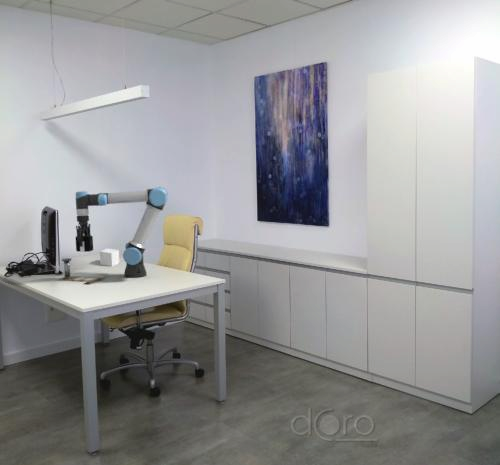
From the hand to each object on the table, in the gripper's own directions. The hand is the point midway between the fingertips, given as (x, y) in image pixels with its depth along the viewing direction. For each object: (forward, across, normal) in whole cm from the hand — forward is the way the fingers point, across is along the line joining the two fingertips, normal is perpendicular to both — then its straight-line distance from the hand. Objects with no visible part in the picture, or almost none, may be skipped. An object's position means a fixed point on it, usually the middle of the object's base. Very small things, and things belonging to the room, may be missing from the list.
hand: (84, 250), depth 353 cm
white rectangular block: (+21, -66, -21) cm, 72 cm away
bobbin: (+19, 0, -14) cm, 24 cm away
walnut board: (+20, 0, -6) cm, 21 cm away
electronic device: (0, 0, 0) cm, 1 cm away
